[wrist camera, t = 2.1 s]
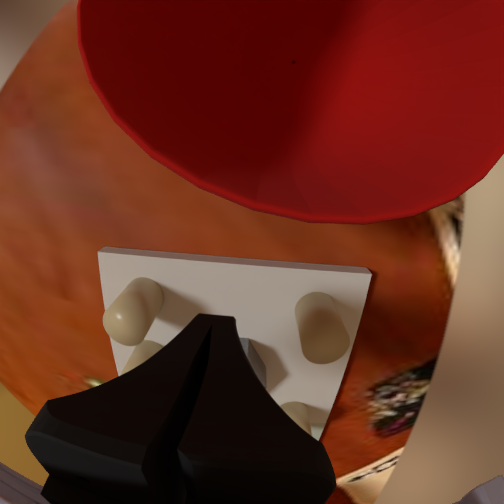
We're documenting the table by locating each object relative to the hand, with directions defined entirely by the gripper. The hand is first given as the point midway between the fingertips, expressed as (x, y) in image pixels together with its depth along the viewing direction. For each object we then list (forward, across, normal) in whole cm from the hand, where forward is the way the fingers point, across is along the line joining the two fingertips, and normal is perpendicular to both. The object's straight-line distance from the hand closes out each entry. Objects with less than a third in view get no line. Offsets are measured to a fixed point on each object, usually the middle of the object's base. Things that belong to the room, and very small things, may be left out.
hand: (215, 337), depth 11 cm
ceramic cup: (+8, -2, -13) cm, 16 cm away
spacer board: (+7, 0, +10) cm, 12 cm away
